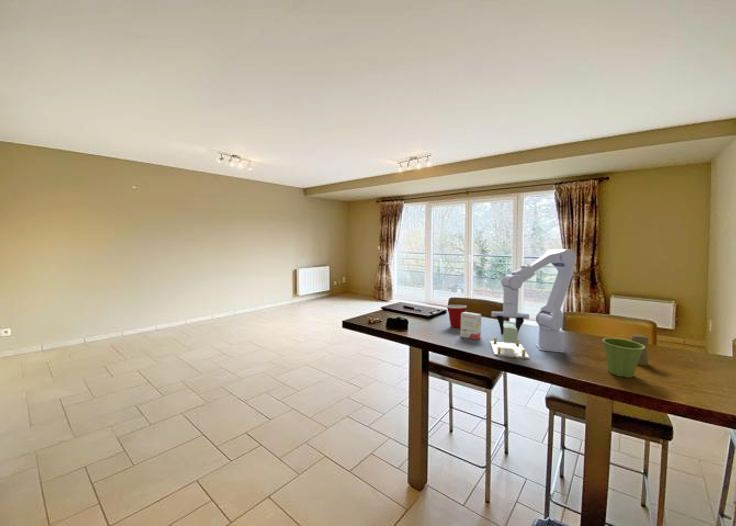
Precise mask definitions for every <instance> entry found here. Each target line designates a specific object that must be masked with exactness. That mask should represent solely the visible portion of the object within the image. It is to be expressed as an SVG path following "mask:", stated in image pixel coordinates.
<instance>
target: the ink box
mask: <svg viewBox="0 0 736 526" xmlns="http://www.w3.org/2000/svg"><path fill="white" fill-rule="evenodd" d="M481 329H482V313H475V312H468V311H465V312H463V313H461V328H460V337H461V338H467V339H471V340H475V341H476V340H477V341H478V340H479V339H481V335H482V333H481V332H482V331H481Z"/></svg>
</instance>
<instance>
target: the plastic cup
mask: <svg viewBox="0 0 736 526" xmlns="http://www.w3.org/2000/svg"><path fill="white" fill-rule="evenodd" d="M446 307H447V308H446V309H447V311H448V318H449V323H450V327H451V328H452V329H461V313H463V312H466V310H467V305H466V304H465V305H464V304H449V305H446Z"/></svg>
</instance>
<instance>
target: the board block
mask: <svg viewBox="0 0 736 526" xmlns="http://www.w3.org/2000/svg"><path fill="white" fill-rule="evenodd" d="M517 334H518V335H519V332H518V329H517V328H516V324H515V323H508V322H507V323H506V322H504V324H503V334H501V333H500V337H501V339H502V340H503V342H504V343H515V344H516V343H517V339H518V336H517Z"/></svg>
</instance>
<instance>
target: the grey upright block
mask: <svg viewBox="0 0 736 526" xmlns="http://www.w3.org/2000/svg"><path fill="white" fill-rule="evenodd" d="M630 339H631V340H630V341H633V342H637V343H640V344H642V345H644V346H645V349H643V351H642V354H641V355H640V357H639V361H638V365H637V366H641V365H648V366H649V359H648V348H647V347H648V346H647V345H648V344H649V341H650V340H649V337H648V336H646V335H644V334H643V335H642V334H632V335H631V337H630Z"/></svg>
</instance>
